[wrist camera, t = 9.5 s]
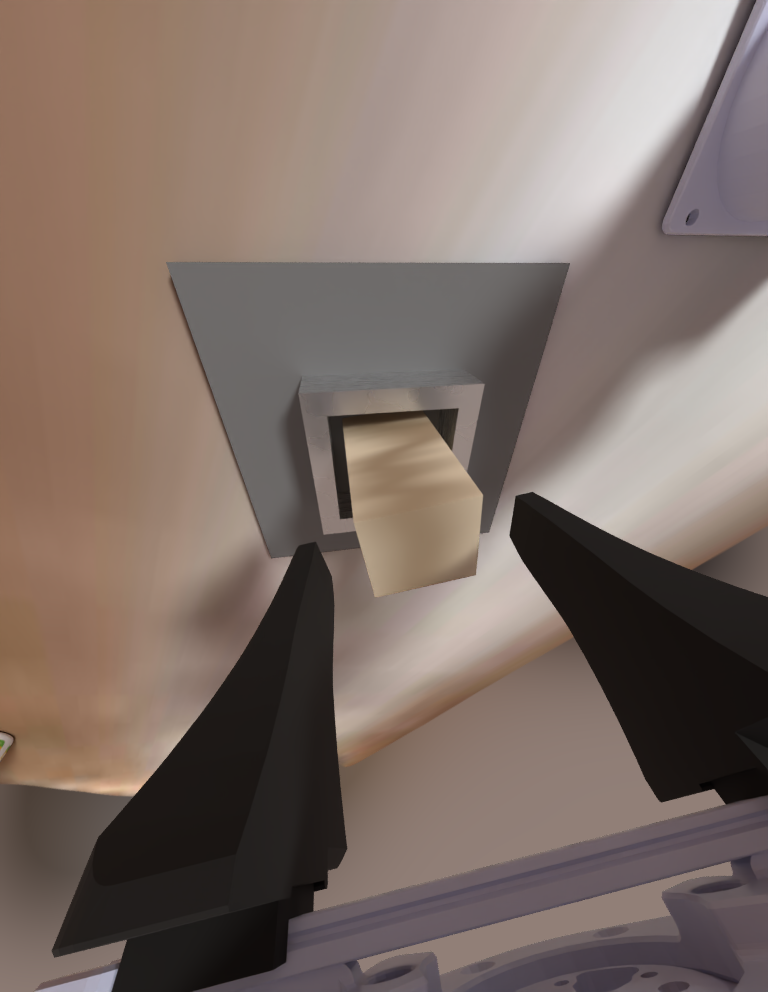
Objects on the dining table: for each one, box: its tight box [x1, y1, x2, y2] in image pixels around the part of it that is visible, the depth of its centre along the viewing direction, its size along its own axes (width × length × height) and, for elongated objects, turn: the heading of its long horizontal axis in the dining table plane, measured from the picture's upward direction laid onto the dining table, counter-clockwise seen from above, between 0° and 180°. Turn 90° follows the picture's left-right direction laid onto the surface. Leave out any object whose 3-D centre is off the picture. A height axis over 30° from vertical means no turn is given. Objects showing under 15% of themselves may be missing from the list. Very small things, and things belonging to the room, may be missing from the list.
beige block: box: [342, 410, 483, 598], centre depth 13 cm, size 4×4×8 cm
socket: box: [298, 369, 485, 535], centre depth 15 cm, size 8×8×2 cm
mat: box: [166, 262, 570, 558], centre depth 17 cm, size 16×16×1 cm
